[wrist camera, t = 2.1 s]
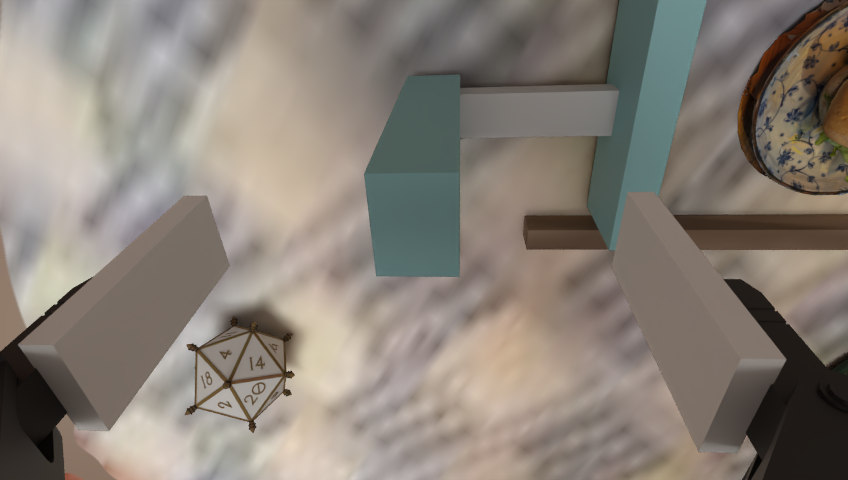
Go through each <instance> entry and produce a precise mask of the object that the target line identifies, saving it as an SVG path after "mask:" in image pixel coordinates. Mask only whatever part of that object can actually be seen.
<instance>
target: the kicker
mask: <svg viewBox="0 0 848 480" xmlns="http://www.w3.org/2000/svg"><path fill="white" fill-rule="evenodd" d="M706 2H707V0H619V7H618V13H617V19H616V26H615V32H614V38H613V45H612V51H611V57H610V64H609V70H608V76H607V83H606V84H589V85H552V86H515V87H478V88H460V75H426V76H408V77H407V79H406V81H405V83H404V86H403V88H402V90H401V92H400V95H399V97H398V99H397V101H396V104H395V106H394V108H393V110H392V112H391V115H390V117H389V119H388V121H387V124H386V126H385V128H384V130H383V133H382V135H381V137H380V139H379V142H378V144H377V146H376V148H375V151H374V153H373V155H372V157H371V159H370V162H369V164H368V166H367V168H366V171H365V173H364V177H365V185H366V194H367V202H368V210H369V219H370V227H371V236H372V244H373V252H374V261H375V269H376V276H428V277H459V269H460V139H464V138H518V137H573V136H598V139H597V146H596V152H595V158H594V165H593V171H592V177H591V183H590V190H589V196H588V202H587V207H588V209H589V211H590V213H591V215H592V217H593V219H594V221H595V223H596V225H597V227H598V229H599V231H600V233H601V235H602V237H603V239H604V241H605V243H606V245H607V247H608V249H609V250H615V249H616V244H617V240H618V235H619V230H620V225H621V221H622V216H623V211H624V206H625V202H626V197H627V192H655V194H656V195H657V196H659V192H660V188H661V184H662V180H663V176H664V172H665V168H666V164H667V160H668V156H669V152H670V148H671V144H672V140H673V136H674V131H675V127H676V123H677V119H678V115H679V111H680V107H681V103H682V99H683V95H684V91H685V87H686V83H687V79H688V75H689V71H690V67H691V62H692V58H693V54H694V50H695V46H696V42H697V38H698V34H699V30H700V26H701V22H702V18H703V14H704V10H705V6H706Z"/></svg>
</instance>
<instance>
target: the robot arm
mask: <svg viewBox="0 0 848 480" xmlns="http://www.w3.org/2000/svg"><path fill="white" fill-rule="evenodd" d="M229 266H230V265H229V262H228V259H227V256H226V253H225V250H224V247H223V243H222V240H221V237H220V234H219V231H218V228H217V225H216V222H215V219H214V216H213V213H212V210H211V207H210V204H209V201H208V198H207V196H183V197H182V198H181V199H180V200H179V201H178V202H177V203H176V204H175V205H173V206H172V207H171V208H170V209H169V210H168V211H167V212H166V213H164V214H163V215H162V216H161V217H160V218H159V219H158V220H157V221H156V222H154V223H153V224H152V225H151V226H150V227H149V228H148V229H147V230H145V231H144V232H143V233H142V234H141V235H140V236H139V237H138V238H137V239H135V240H134V241H133V242H132V243H131V244H130V245H129V246H128V247H126V248H125V249H124V250H123V251H122V252H121V253H120V254H119V255H118V256H116V257H115V258H114V259H113V260H112V261H111V262H110V263H109V264H107V265H106V266H105V267H104V268H103V269H102V270H101V271H100V272H99V273H97V274H96V275H95V276H94V277H92V278H90V279H88V280H86V281H85V282H83V283H81V284H79V285H78V286H76V287H74V288H73V289H71V290H70V291H69V292H68V293H67V294H66V295H65V296H63V297H62V298H61V299H60V300H59V301H58V302H57V305H53V306H52V307H51V308H50V309H49V310H47V311H46V312H45V315H44V316H41V317H39V318H38V319H37V320H36V321H35V322H34V323H33V324H31V325H30V326H29V327H28V328H27V329H26V330H25V331H24V332H22V333H21V334H20V335H19V336H18V337H17V338H15V340H13V341H12V342H11V343H10V344H9V345H8V346H6V347H5V348H4V349H3V350H2V351H1V352H0V480H65V473H64V458H63V443H62V436H61V434H60V432H59V430H58V429H57V427H56V425H57V424H58V423H59V422H60V421H61V419H62V418H63V417H64V416H65V415H66V414H67V415H68V416H69V418H70V419H71V421H72V422H73V423H74V425H75V426H76V428H77V429H78V430H90V431H109V430H110V429H111V428H112V426H113V425H114V424H115V422H116V421H117V420H118V418H119V417H120V415H121V414H122V413H123V411H124V410H125V409H126V407H127V406H128V404H129V403H130V402H131V400H132V399H133V398H134V396H135V395H136V393H137V392H138V391H139V389H140V388H141V387H142V385H143V384H144V382H145V381H146V380H147V378H148V377H149V376H150V374H151V373H152V372H153V370H154V369H155V367H156V366H157V365H158V363H159V362H160V361H161V359H162V358H163V356H164V355H165V354H166V352H167V351H168V350H169V348H170V347H171V345H172V344H173V343H174V341H175V340H176V339H177V337H178V336H179V334H180V333H181V332H182V330H183V329H184V328H185V326H186V325H187V324H188V322H189V321H190V319H191V318H192V317H193V315H194V314H195V313H196V311H197V310H198V308H199V307H200V306H201V304H202V303H203V302H204V300H205V299H206V297H207V296H208V295H209V293H210V292H211V291H212V289H213V288H214V286H215V285H216V284H217V282H218V281H219V280H220V278H221V277H222V275H223V274H224V273H225V271H226V270H227V269H228V267H229ZM612 269H613V271H614V273H615V275H616V277H617V280H618V282H619V284H620V286H621V288H622V290H623V292H624V294H625V297H626V299H627V301H628V303H629V305H630V307H631V309H632V311H633V314H634V316H635V318H636V320H637V322H638V324H639V326H640V328H641V331H642V333H643V335H644V337H645V339H646V341H647V343H648V345H649V348H650V350H651V352H652V354H653V356H654V358H655V360H656V362H657V365H658V367H659V369H660V371H661V373H662V375H663V377H664V379H665V382H666V384H667V386H668V388H669V390H670V392H671V394H672V396H673V399H674V401H675V403H676V405H677V407H678V409H679V411H680V413H681V416H682V418H683V420H684V422H685V424H686V426H687V428H688V430H689V433H690V435H691V437H692V439H693V441H694V443H695V445H696V447H697V450H698V452H717V453H737V452H738V450H739V449H740V447H741V445H742V443H743V441H744V439H745V437H746V435H747V436H748V438H749V439H750V441H751V443H752V445H753V446H754V448H755V450H756V451H757V454H756V456H755V458H754V460H753V461H752V463H751V465H750V467H749V469H748V470H747V472H746V474H745V476H744V477H743V479H742V480H848V375H845V374H841V373H838V372H835V371H829V370H828V369H827V368H826V367H825V365H824V364H823V363H822V362H821V361H820V360H819V359H818V357H817V356H816V355H815V354H814V353H813V352H812V350H811V349H810V348H809V347H808V346H807V345H806V344H805V342H804V341H803V340H802V339H801V338H800V337H799V336H798V334H797V333H796V332H795V331H794V330H793V329H792V327H791V326H790V325H789V324H786V321H785V319H784V318H783V317H782V316H781V315H780V314H779V313H778V311H775V308H774V307H773V306H772V304H771V303H770V302H769V301H768V300H767V299H766V298H765V296H764V295H763V294H762V293H761V292H759V291H758V290H756V289H755V288H753V287H752V286H750V285H749V284H747V283H746V282H744V281H742V280H741V279H723V278H722V277H721V276H720V275H719V273H718V272H717V271H716V269H715V268H714V267H713V266H712V264H711V263H710V262H709V261H708V259H707V258H706V257H705V256H704V254H703V253H702V252H701V251H700V249H699V248H698V247H697V245H696V244H695V243H694V242H693V240H692V239H691V238H690V237H689V235H688V234H687V233H686V232H685V230H684V229H683V228H682V226H681V225H680V224H679V223H678V221H677V220H676V219H675V218H674V216H673V215H672V214H671V213H670V211H669V210H668V209H667V207H666V206H665V205H664V204H663V202H662V201H661V200H660V199H659V197H658V196H657V195H656V194H655V192H627V197H626V202H625V206H624V211H623V216H622V221H621V225H620V230H619V235H618V240H617V244H616V249H615V254H614V258H613V263H612Z"/></svg>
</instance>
